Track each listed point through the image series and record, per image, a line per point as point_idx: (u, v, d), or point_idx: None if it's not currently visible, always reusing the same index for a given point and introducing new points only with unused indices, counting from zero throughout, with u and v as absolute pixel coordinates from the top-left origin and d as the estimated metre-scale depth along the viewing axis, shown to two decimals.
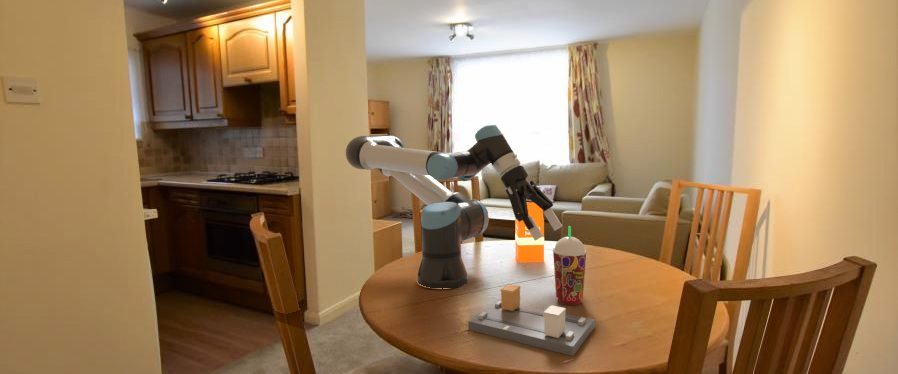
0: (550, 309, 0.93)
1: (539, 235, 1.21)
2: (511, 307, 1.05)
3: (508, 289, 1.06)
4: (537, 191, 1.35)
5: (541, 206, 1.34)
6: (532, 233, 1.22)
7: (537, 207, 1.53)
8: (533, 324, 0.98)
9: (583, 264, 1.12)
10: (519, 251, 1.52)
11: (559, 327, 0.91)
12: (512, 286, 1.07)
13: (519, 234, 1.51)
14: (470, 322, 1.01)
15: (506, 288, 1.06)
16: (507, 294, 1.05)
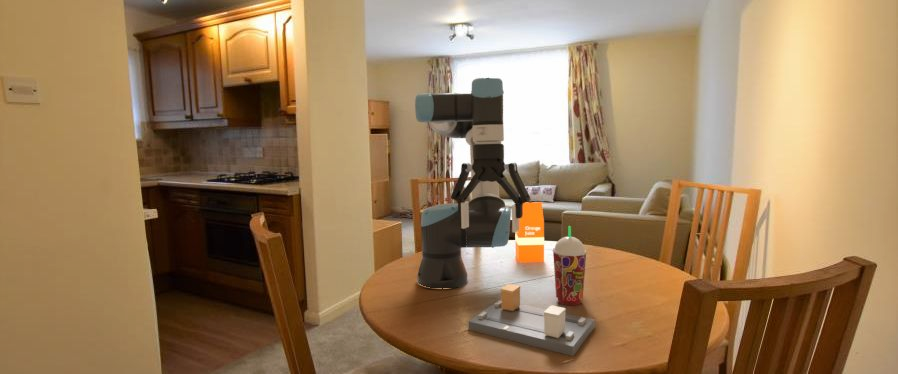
0: (550, 309, 0.93)
1: None
2: (511, 307, 1.05)
3: (508, 289, 1.06)
4: None
5: None
6: None
7: (537, 207, 1.53)
8: (533, 324, 0.98)
9: (583, 264, 1.12)
10: (519, 251, 1.52)
11: (559, 327, 0.91)
12: (512, 286, 1.07)
13: (519, 234, 1.51)
14: (470, 322, 1.01)
15: (506, 288, 1.06)
16: (507, 294, 1.05)
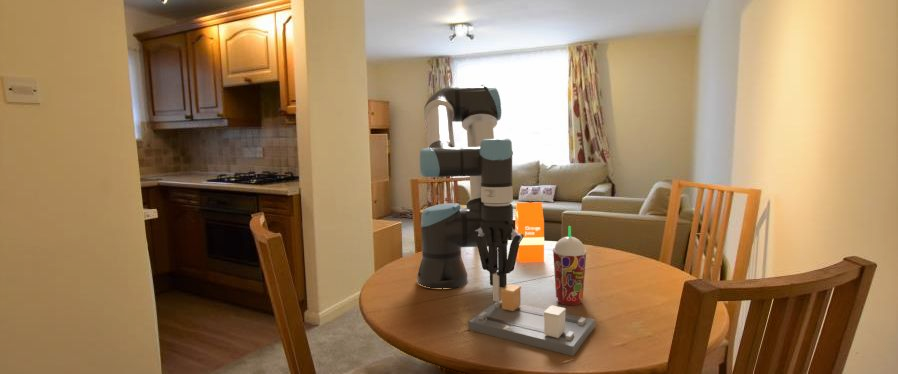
0: (550, 309, 0.93)
1: None
2: (512, 307, 1.05)
3: (509, 289, 1.05)
4: None
5: None
6: None
7: (537, 207, 1.53)
8: (533, 324, 0.98)
9: (583, 264, 1.12)
10: (519, 251, 1.52)
11: (559, 327, 0.91)
12: (513, 286, 1.07)
13: None
14: (470, 322, 1.01)
15: (507, 288, 1.06)
16: (508, 294, 1.05)
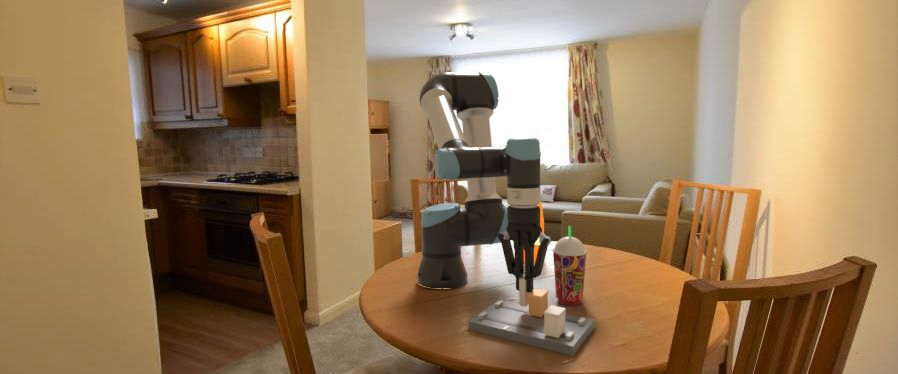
0: (550, 309, 0.93)
1: None
2: (539, 313, 1.01)
3: (536, 294, 1.02)
4: None
5: None
6: None
7: None
8: (533, 324, 0.98)
9: (583, 264, 1.12)
10: None
11: (559, 327, 0.91)
12: (540, 291, 1.04)
13: None
14: (470, 322, 1.01)
15: (534, 293, 1.02)
16: (535, 299, 1.01)
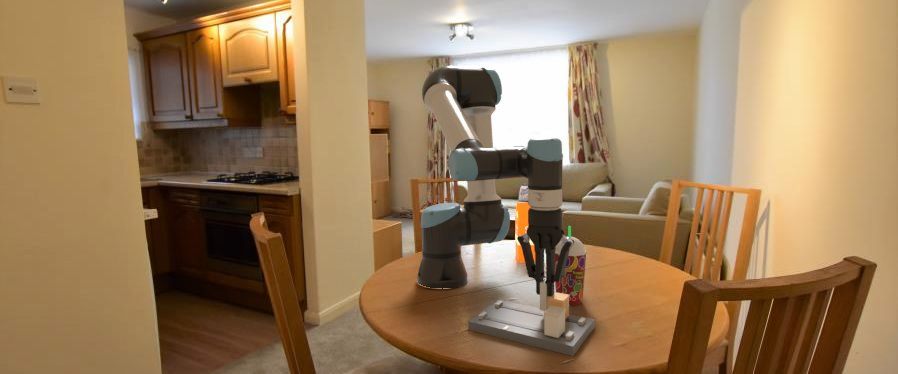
0: (550, 309, 0.93)
1: None
2: None
3: (558, 298, 0.99)
4: (560, 254, 0.98)
5: None
6: None
7: None
8: (533, 324, 0.98)
9: (583, 264, 1.12)
10: (519, 251, 1.52)
11: (559, 327, 0.91)
12: (561, 295, 1.01)
13: (519, 234, 1.51)
14: (470, 322, 1.01)
15: (555, 297, 1.00)
16: (557, 303, 0.99)
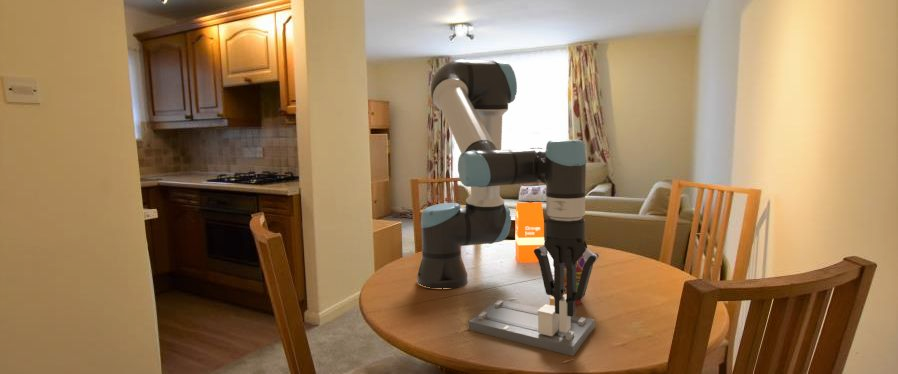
0: (544, 308, 0.94)
1: None
2: None
3: None
4: (583, 269, 0.88)
5: None
6: None
7: (537, 207, 1.53)
8: (533, 324, 0.98)
9: (583, 264, 1.12)
10: (519, 251, 1.52)
11: (552, 325, 0.91)
12: None
13: (519, 234, 1.51)
14: (470, 322, 1.01)
15: None
16: None
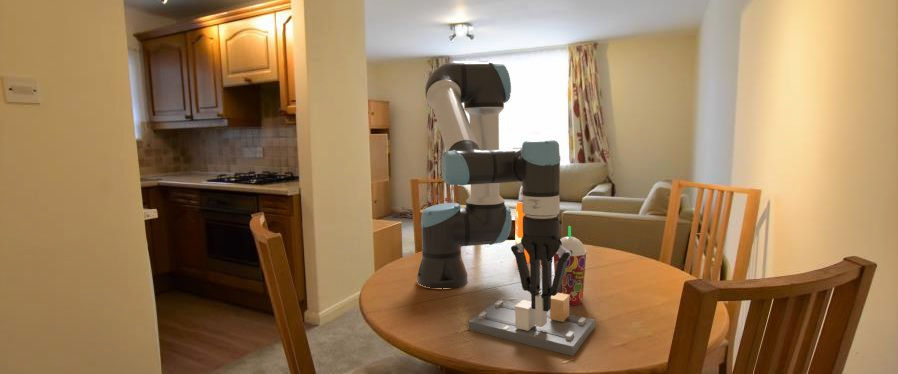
0: (521, 303, 0.97)
1: None
2: (561, 318, 0.98)
3: (558, 298, 0.99)
4: None
5: None
6: None
7: None
8: None
9: (583, 264, 1.12)
10: None
11: (529, 320, 0.94)
12: (561, 295, 1.01)
13: (519, 234, 1.51)
14: (470, 322, 1.01)
15: (555, 297, 1.00)
16: (557, 303, 0.98)
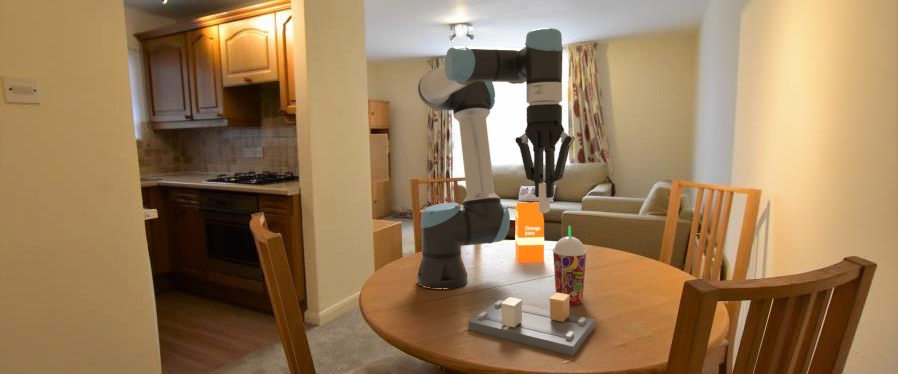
0: (507, 300, 0.98)
1: None
2: (561, 318, 0.98)
3: (558, 298, 0.99)
4: None
5: None
6: None
7: (537, 207, 1.53)
8: (533, 324, 0.98)
9: (583, 264, 1.12)
10: (519, 251, 1.52)
11: (514, 317, 0.96)
12: (561, 295, 1.01)
13: (519, 234, 1.51)
14: (470, 322, 1.01)
15: (555, 297, 1.00)
16: (557, 303, 0.98)
